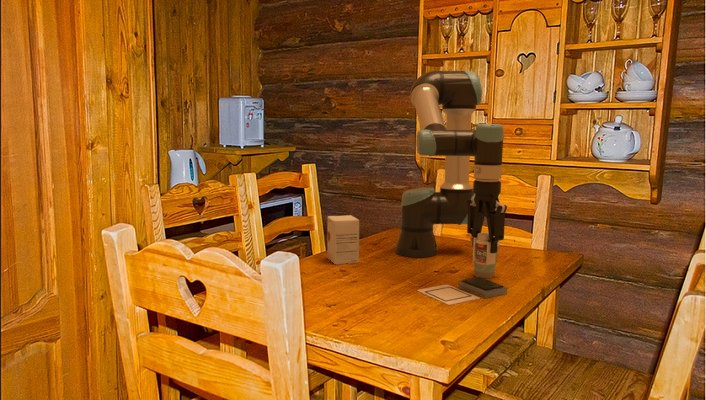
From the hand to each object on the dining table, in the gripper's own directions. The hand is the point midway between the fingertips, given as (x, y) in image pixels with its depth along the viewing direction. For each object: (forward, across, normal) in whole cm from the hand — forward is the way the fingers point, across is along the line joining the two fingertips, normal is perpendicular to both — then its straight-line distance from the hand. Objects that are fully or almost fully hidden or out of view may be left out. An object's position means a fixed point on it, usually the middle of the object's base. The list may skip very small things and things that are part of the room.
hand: (483, 261), depth 158 cm
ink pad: (+9, 0, 0) cm, 9 cm away
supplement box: (+9, -48, -19) cm, 52 cm away
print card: (+9, -2, -11) cm, 14 cm away
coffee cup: (+9, -11, +11) cm, 18 cm away
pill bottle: (+1, 0, 0) cm, 1 cm away
